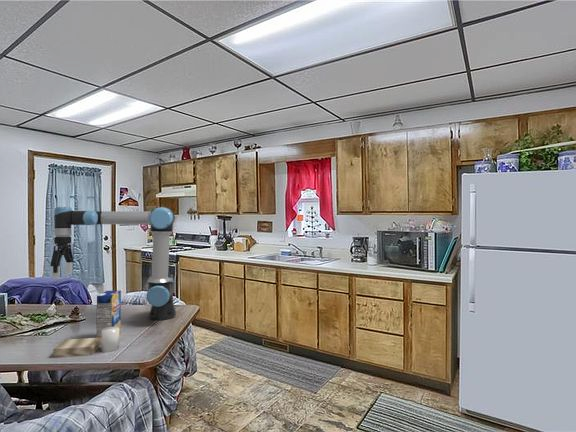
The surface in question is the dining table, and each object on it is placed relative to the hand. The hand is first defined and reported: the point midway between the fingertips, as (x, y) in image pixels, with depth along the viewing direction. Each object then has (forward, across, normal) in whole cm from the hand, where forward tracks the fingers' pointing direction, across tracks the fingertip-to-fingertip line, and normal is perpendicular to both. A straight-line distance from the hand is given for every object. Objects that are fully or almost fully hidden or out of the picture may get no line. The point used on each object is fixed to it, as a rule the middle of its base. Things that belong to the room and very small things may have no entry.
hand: (62, 276), depth 173 cm
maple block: (+28, +32, +20) cm, 47 cm away
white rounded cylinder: (+28, +33, +33) cm, 54 cm away
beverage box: (+28, +18, +28) cm, 43 cm away
